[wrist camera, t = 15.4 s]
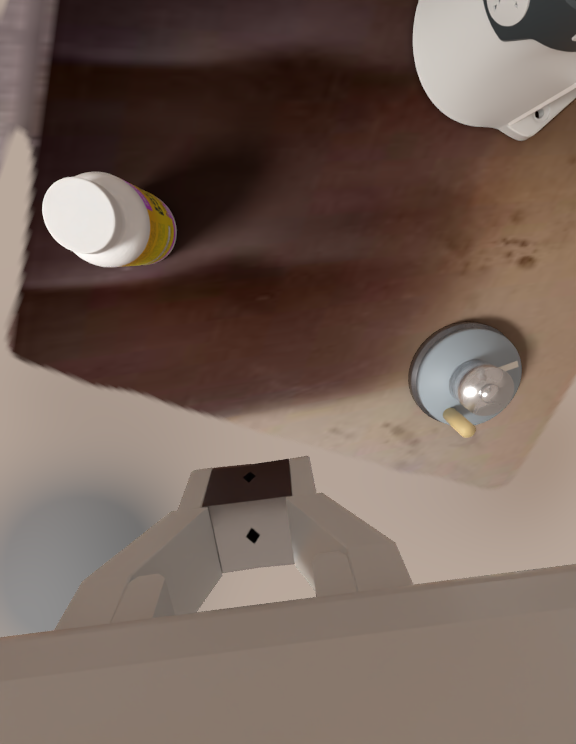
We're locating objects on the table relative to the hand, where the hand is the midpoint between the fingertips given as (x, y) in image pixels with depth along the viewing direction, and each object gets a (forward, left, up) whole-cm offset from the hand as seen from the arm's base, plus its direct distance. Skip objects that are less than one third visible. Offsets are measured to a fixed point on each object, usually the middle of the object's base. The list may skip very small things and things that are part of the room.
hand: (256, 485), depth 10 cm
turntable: (-15, +18, -30) cm, 38 cm away
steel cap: (-15, +18, -29) cm, 37 cm away
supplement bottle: (+6, -13, -31) cm, 34 cm away
